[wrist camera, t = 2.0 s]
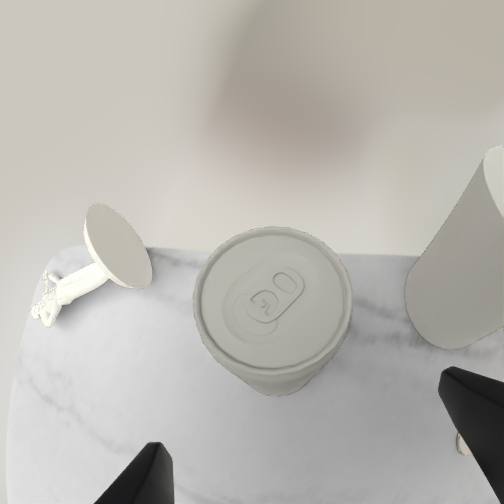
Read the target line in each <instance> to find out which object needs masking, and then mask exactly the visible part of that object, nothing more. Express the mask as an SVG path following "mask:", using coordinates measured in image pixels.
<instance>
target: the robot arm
mask: <svg viewBox="0 0 504 504" xmlns="http://www.w3.org/2000/svg"><path fill="white" fill-rule="evenodd" d="M438 393H439V395H440V397H441V399H442V401H443V403H444V405H445V407H446V409H447V411H448V413H449V415H450V417H451V419H452V421H453V423H454V425H455V427H456V429H457V430H458V432H459V434H460V435H461V437H462V438H463V440H464V442H465V443H466V445H467V446H468V448H469V450H470V451H471V453H472V454H473V456H474V458H475V459H476V461H477V463H478V464H479V466H480V468H481V469H482V471H483V473H484V475H485V476H486V478H487V480H488V482H489V483H490V485H491V487H492V489H493V490H494V492H495V494H496V496H497V498H498V500H499V501H500V503H501V504H504V382H500V381H497V380H494V379H491V378H488V377H485V376H482V375H478V374H475V373H472V372H469V371H466V370H463V369H460V368H457V367H454V366H452V367H449V368H447V369H445V370H443V371H442V373H441V377H440V382H439V387H438ZM94 504H174V482H173V461H172V458H171V456H170V454H169V453H168V451H167V450H166V448H165V447H164V445H163V444H162V443H161V442H149V443H147V444H146V445H145V447H144V448H143V449H142V450H141V451H140V452H139V454H138V455H137V456H136V457H135V458H134V459H133V461H132V462H131V463H130V464H129V465H128V466H127V467H126V469H125V470H124V471H123V472H122V473H121V474H120V475H119V476H118V478H117V479H116V480H115V481H114V482H113V483H112V484H111V485H110V486H109V488H108V489H107V490H106V491H105V492H104V493H103V494H102V495H101V496H100V497H99V499H98V500H97V501H96V502H95V503H94Z"/></svg>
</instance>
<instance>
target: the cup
mask: <svg viewBox="0 0 504 504" xmlns="http://www.w3.org/2000/svg"><path fill="white" fill-rule="evenodd" d="M405 303H406V308H407V312H408V315H409V317H410V320H411V322H412V324H413V325H414V327H415V328H416V330H417V331H418V333H419V334H420V335H421V336H422V337H423V338H424V339H425V340H426V341H428V342H429V343H431V344H432V345H434V346H436V347H438V348H441V349H446V350H456V349H460V348H463V347H465V346H467V345H470V344H472V343H474V342H476V341H478V340H480V339H482V338H483V337H485V336H487V335H489V334H491V333H493V332H495V331H497V330H498V329H500V328H502V327H504V146H494V147H492V148H490V149H489V150H488V151H487V152H486V154H485V156H484V158H483V160H482V161H481V163H480V165H479V167H478V169H477V170H476V172H475V174H474V176H473V177H472V179H471V181H470V183H469V184H468V186H467V188H466V189H465V191H464V193H463V195H462V196H461V198H460V199H459V201H458V203H457V204H456V206H455V207H454V209H453V211H452V212H451V214H450V215H449V217H448V218H447V220H446V221H445V223H444V224H443V226H442V227H441V229H440V230H439V231H438V233H437V234H436V236H435V237H434V239H433V240H432V241H431V243H430V244H429V246H428V247H427V248H426V250H425V251H424V253H423V254H422V255H421V257H420V258H419V259H418V261H417V262H416V263H415V265H414V266H413V267H412V269H411V270H410V272H409V274H408V277H407V280H406V285H405Z"/></svg>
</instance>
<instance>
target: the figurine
mask: <svg viewBox="0 0 504 504" xmlns="http://www.w3.org/2000/svg"><path fill="white" fill-rule="evenodd" d="M84 237H85V242H86V245H87V248H88V250H89V252H90V254H91V256H92V258H93V260H94V261H95V262H94V263H93V264H91V265H89V266H87V267H85V268H83V269H81V270H78V271H76V272H74V273H71V274H70V275H68V276H66V277H65V278H63V279H61V280H60V279H59V278H58V277H57V276H56V274H54V273H51V274H47V273H48V271H47V270H45V273H44V274H43V276H42V281H43V282H45V283H46V291H45V292H44V293H42V299H41V301H40V302H39V303H38V304H35V306H34V307H33V308H32V309H31V314H32V316H33V317H34V318H35V319H40V318H41V319H42V321H43V322H44V324H45V326H46V327H48V328H50V327H51V326H52V325H53V323H54V321H55V319H56V317H57V315H58V314H59V312H60V310H61V308H62V305H68V304H70V303H71V302H72V301H73V299H75V298H77V297H79V296H82V295H84V294H86V293H88V292H90V291H92V290H94V289H96V288H98V287H99V286H101V285H102V284H103V283H105V282H106V281H107V280H108V279H109V278H110V279H111V280H112V281H114V282H115V283H117V284H119V285H121V286H123V287H127V288H136V289H143V288H146V287H148V286H149V284H150V283H151V280H152V266H151V262H150V258H149V256H148V253H147V251H146V249H145V247H144V245H143V243H142V241H141V239H140V238H139V236H138V235H137V233H136V232H135V230H134V229H133V228H132V226H131V225H130V224H129V223H128V222H127V221H126V219H124V217H122V216H121V215H120V214H119V213H118V212H117V211H115V210H114V209H112V208H110V207H109V206H106V205H104V204H94V205H92V206H91V207H90V208H89V209H88V211H87V214H86V219H85V223H84ZM47 279H50V280H51V281H53V282H55V283H56V287H55V288H54V287H53V288H54V289H53V288H52V289H50V290H49V289H48V287H47V283H48V280H47Z"/></svg>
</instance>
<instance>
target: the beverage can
mask: <svg viewBox="0 0 504 504" xmlns="http://www.w3.org/2000/svg"><path fill="white" fill-rule="evenodd" d="M193 307H194V317H195V320H196V325H197V328H198V331H199V333H200V336H201V339H202V342H203V344H204V345H205V346H206V348H207V349H208V350H209V352H210V353H211V355H212V356H213V357H214V359H215V360H216V361H217V362H219V363H220V364H221V365H223V366H224V367H225V368H226V369H228V370H229V371H230V372H232V373H233V374H234V375H236V376H237V377H239V378H240V379H241V380H243V381H244V382H245V383H247V384H248V385H250V386H251V387H252V388H254V389H255V390H257V391H258V392H260V393H263V394H265V395H268V396H284V395H289V394H291V393H294V392H296V391H298V390H299V389H300V388H301V387H303V386H304V385H305V384H306V383H307V382H308V381H309V380H310V379H311V378H312V377H313V376H314V375H315V374H316V373H317V372H318V371H319V370H320V369H321V368H322V367H323V366H324V365H325V364H326V363H327V362H328V361H329V360H330V359H331V358H332V357H333V356H334V355H335V353H336V352H337V350H338V348H339V347H340V345H341V344H342V342H343V341H344V339H345V337H346V334H347V331H348V327H349V324H350V321H351V312H352V287H351V284H350V280H349V277H348V273H347V271H346V269H345V267H344V266H343V264H342V263H341V261H340V259H339V258H338V256H337V255H336V254H335V253H334V252H333V251H332V250H331V249H330V248H329V247H328V246H327V245H326V244H325V243H324V242H322V241H320V240H319V239H317V238H315V237H313V236H311V235H310V234H308V233H305V232H302V231H299V230H295V229H291V228H287V227H264V228H258V229H252V230H249V231H246V232H244V233H241V234H239V235H236V236H234V237H232V238H231V239H229V240H228V241H227V242H225V243H224V244H222V245H221V246H219V247H218V248H217V249H216V250H215V251H214V253H213V254H212V255H211V256H210V257H209V258H208V259H207V260H206V262H205V264H204V266H203V267H202V269H201V271H200V273H199V275H198V277H197V280H196V285H195V289H194V294H193Z"/></svg>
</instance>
